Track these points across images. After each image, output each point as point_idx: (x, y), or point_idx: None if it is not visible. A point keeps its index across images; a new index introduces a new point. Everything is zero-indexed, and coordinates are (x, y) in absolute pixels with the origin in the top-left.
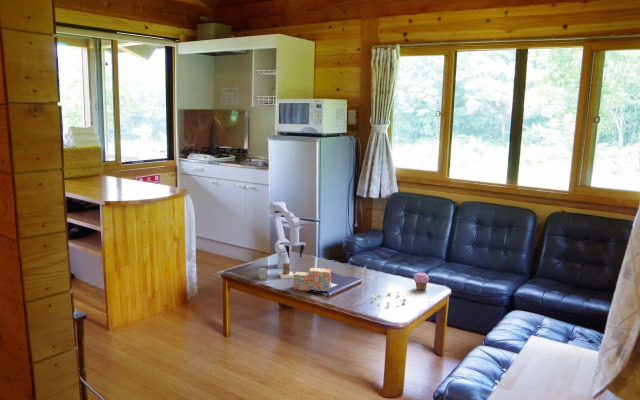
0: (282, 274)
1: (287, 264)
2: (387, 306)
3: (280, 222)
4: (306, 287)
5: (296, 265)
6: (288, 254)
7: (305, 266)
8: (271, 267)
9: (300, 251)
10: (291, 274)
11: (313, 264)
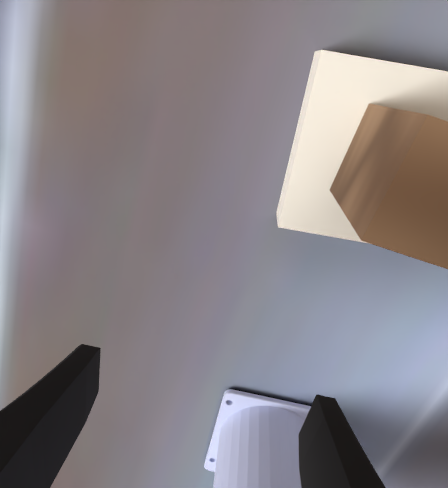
0: None
1: (437, 184)
2: None
3: None
4: None
5: (153, 415)
6: (358, 461)
7: None
8: (373, 443)
9: (24, 473)
10: (341, 88)
11: (9, 390)
